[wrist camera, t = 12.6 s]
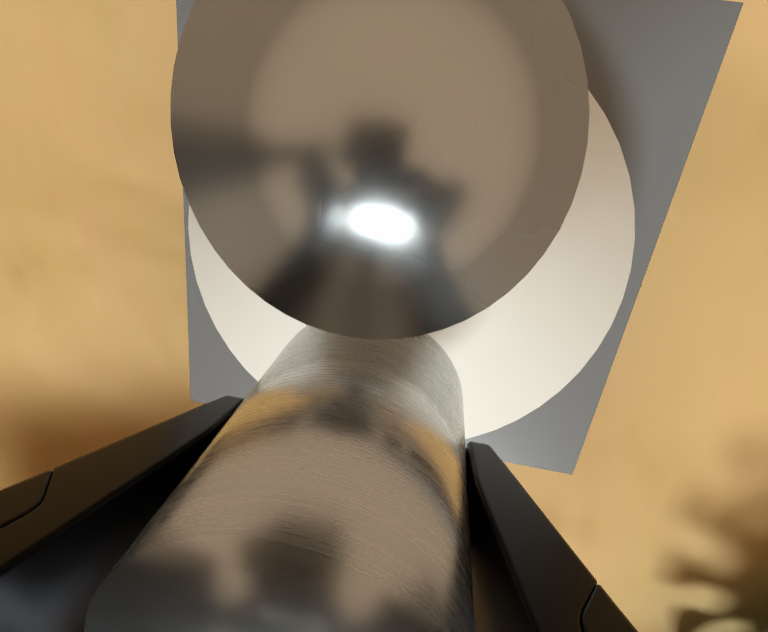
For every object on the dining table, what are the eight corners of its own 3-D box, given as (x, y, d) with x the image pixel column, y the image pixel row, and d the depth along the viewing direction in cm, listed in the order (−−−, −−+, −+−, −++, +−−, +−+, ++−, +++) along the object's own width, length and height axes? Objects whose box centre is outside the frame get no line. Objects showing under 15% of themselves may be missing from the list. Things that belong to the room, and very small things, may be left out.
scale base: (229, 361, 19) (190, 400, 16) (230, -61, 13) (172, -113, 11) (553, 421, 18) (572, 474, 15) (692, -9, 12) (762, -51, 10)
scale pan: (210, 389, 15) (194, 406, 14) (203, -14, 11) (179, -29, 10) (553, 455, 14) (560, 478, 13) (690, 45, 10) (715, 35, 9)
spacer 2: (270, 458, 12) (105, 755, 6) (277, 295, 10) (58, 497, 4) (444, 492, 11) (438, 839, 6) (481, 329, 10) (525, 597, 4)
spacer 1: (314, 226, 11) (181, 309, 6) (325, 20, 10) (154, -136, 4) (492, 251, 11) (531, 366, 5) (535, 41, 9) (653, -102, 4)
